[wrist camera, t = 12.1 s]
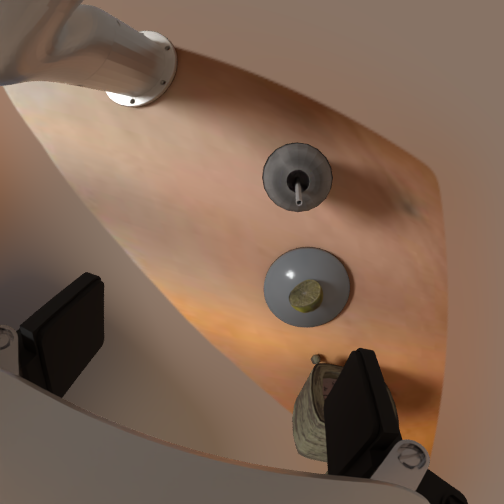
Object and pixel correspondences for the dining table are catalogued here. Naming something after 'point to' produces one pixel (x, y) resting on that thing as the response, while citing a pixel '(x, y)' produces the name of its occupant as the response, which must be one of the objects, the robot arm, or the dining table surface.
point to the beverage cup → (297, 177)
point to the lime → (306, 296)
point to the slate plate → (298, 270)
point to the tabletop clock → (316, 410)
